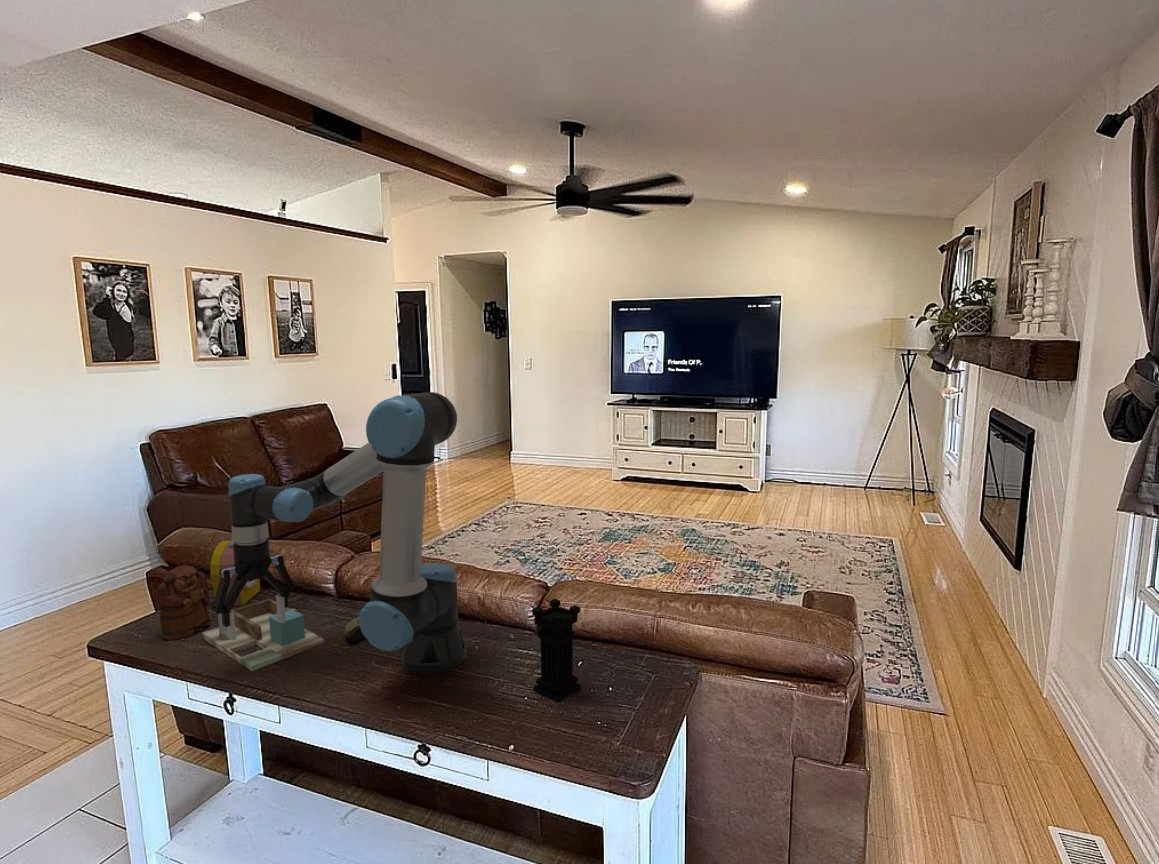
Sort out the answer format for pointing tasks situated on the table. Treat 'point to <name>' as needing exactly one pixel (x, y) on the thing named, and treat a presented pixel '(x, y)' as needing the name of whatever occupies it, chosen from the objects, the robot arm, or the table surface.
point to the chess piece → (556, 650)
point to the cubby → (253, 611)
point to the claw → (354, 630)
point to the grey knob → (222, 628)
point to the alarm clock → (225, 559)
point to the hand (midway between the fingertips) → (257, 629)
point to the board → (260, 645)
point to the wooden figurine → (183, 603)
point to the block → (287, 628)
